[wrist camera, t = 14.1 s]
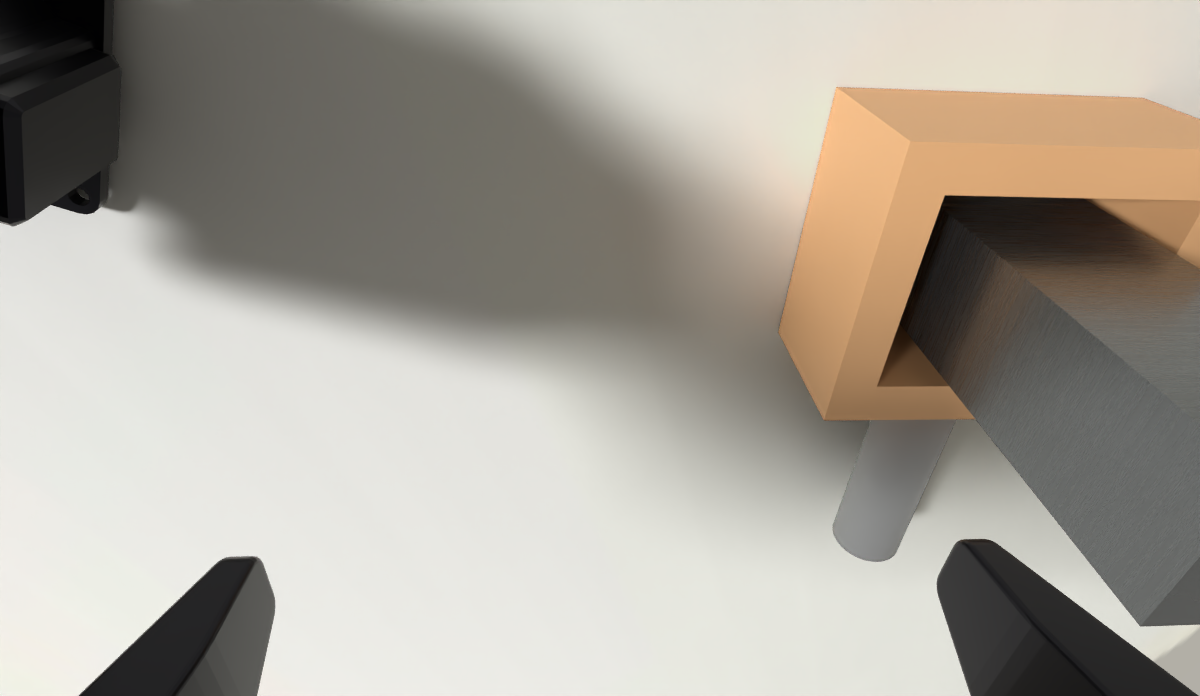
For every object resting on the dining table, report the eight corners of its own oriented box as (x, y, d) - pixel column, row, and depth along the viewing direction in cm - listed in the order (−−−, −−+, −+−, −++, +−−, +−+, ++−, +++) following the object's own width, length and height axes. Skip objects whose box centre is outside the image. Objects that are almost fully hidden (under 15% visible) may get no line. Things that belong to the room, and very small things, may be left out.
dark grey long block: (858, 272, 22) (1140, 626, 12) (891, 166, 20) (1265, 478, 10) (992, 275, 22) (1376, 618, 12) (1037, 170, 20) (1544, 475, 10)
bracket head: (738, 498, 27) (781, 635, 23) (841, 65, 18) (953, 138, 13) (1142, 490, 29) (1264, 617, 24) (1428, 87, 20) (1724, 160, 15)
